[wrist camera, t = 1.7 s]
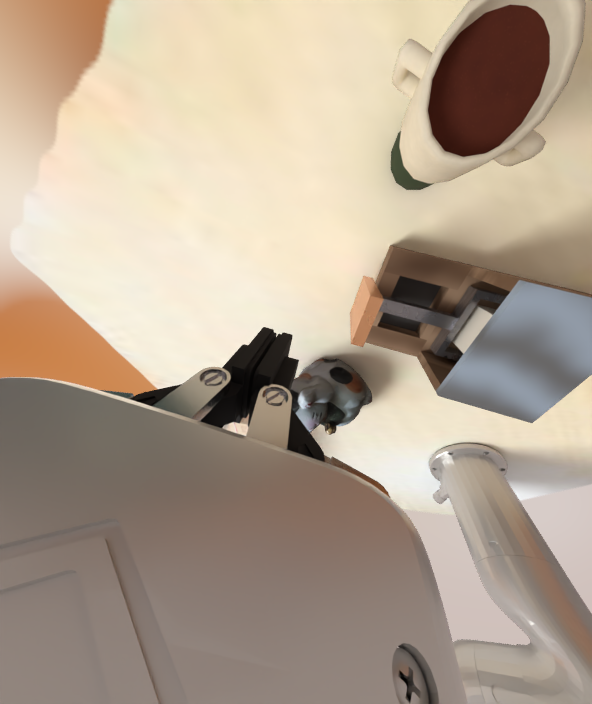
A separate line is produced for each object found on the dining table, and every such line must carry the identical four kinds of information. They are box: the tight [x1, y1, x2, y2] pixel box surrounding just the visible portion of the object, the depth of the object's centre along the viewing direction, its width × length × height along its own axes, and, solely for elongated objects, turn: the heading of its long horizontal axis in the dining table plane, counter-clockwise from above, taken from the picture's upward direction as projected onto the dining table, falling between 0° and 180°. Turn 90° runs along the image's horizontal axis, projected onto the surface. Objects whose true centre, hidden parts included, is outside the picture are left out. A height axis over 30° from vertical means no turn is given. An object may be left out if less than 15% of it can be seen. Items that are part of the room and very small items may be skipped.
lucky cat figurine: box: [290, 359, 372, 435], centre depth 35 cm, size 15×12×14 cm
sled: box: [350, 276, 508, 361], centre depth 23 cm, size 9×20×9 cm, turn 78°
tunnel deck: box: [365, 246, 592, 423], centre depth 24 cm, size 13×26×11 cm, turn 78°
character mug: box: [391, 0, 586, 190], centre depth 17 cm, size 11×7×13 cm, turn 62°
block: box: [452, 305, 496, 354], centre depth 24 cm, size 5×5×6 cm
